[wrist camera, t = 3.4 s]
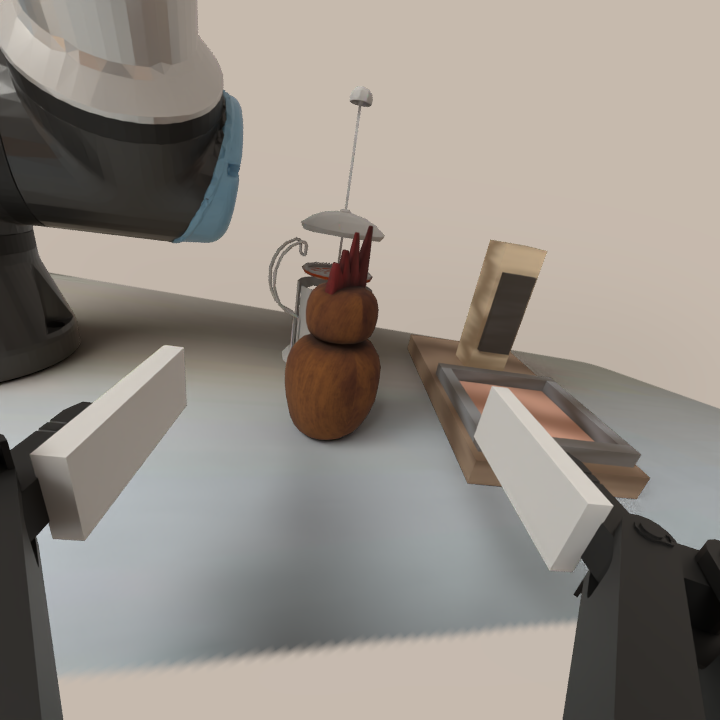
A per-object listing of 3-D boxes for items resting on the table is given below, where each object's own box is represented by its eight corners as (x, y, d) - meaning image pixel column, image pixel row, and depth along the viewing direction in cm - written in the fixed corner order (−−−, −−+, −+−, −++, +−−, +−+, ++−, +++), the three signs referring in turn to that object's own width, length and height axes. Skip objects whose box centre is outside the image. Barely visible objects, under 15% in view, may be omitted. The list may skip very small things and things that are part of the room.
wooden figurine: (341, 400, 31) (371, 223, 25) (380, 437, 27) (427, 237, 21) (269, 415, 27) (284, 211, 21) (302, 461, 23) (331, 225, 17)
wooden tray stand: (636, 498, 26) (766, 300, 19) (467, 483, 24) (551, 263, 18) (500, 361, 47) (541, 247, 41) (407, 348, 46) (436, 228, 40)
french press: (384, 374, 38) (445, 94, 28) (277, 383, 32) (304, 39, 22) (347, 339, 45) (384, 111, 35) (256, 341, 40) (268, 72, 30)
